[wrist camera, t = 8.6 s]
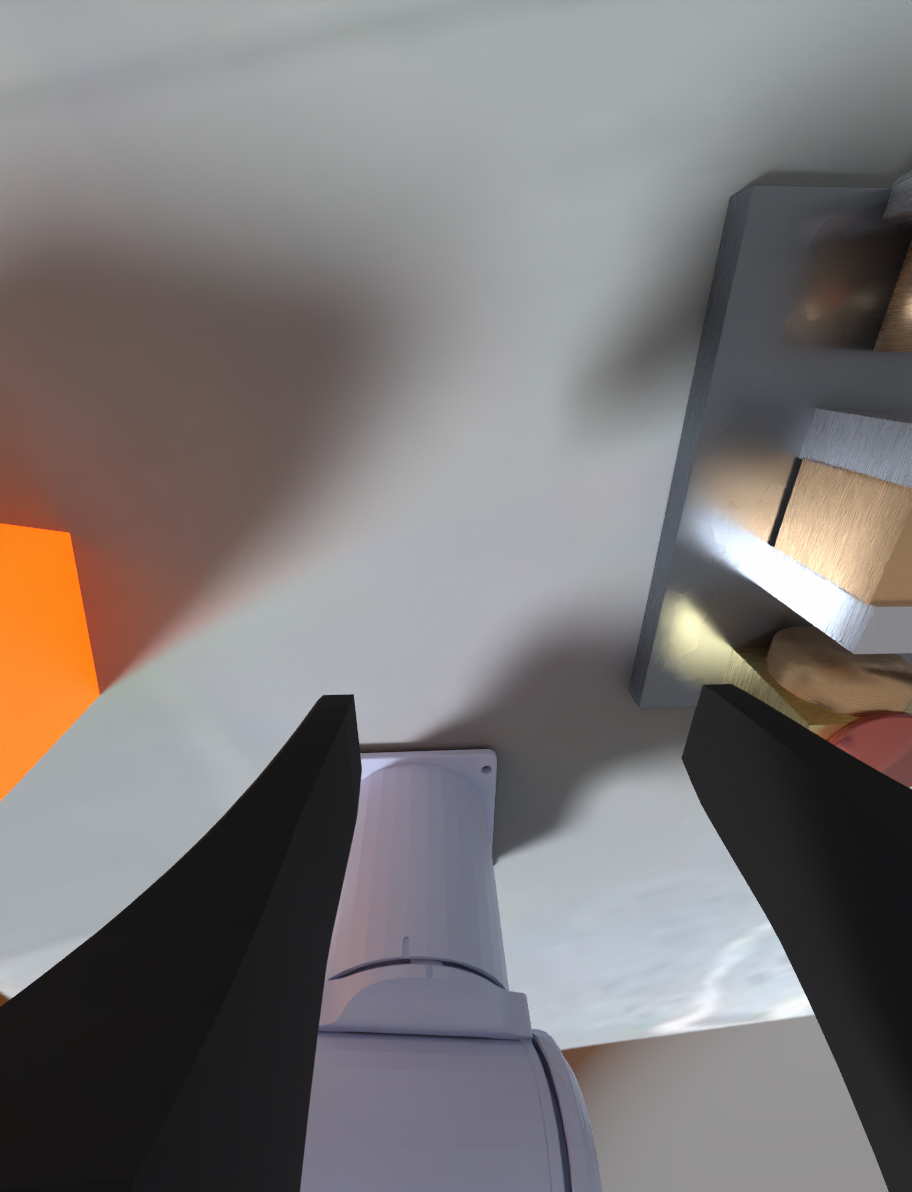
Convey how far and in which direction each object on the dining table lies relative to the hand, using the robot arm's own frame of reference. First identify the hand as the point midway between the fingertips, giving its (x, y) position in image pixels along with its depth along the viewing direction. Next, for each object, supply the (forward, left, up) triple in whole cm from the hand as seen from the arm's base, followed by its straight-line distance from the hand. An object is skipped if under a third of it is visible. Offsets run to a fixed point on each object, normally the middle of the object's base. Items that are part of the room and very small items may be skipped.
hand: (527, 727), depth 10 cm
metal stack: (+2, -13, -10) cm, 16 cm away
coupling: (+2, -13, -9) cm, 16 cm away
